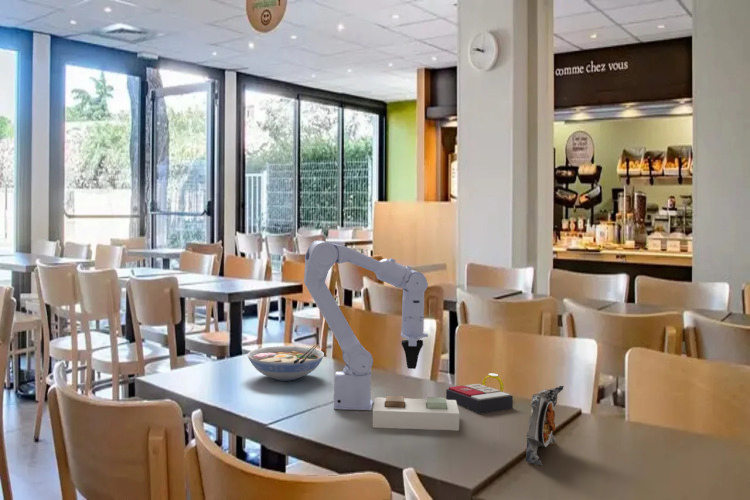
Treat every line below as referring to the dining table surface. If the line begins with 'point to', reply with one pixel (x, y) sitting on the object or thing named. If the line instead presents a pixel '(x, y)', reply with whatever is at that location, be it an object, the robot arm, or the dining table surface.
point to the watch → (496, 378)
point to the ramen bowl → (285, 361)
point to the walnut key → (395, 401)
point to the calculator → (480, 398)
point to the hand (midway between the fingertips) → (411, 368)
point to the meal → (541, 423)
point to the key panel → (415, 415)
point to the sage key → (436, 403)
